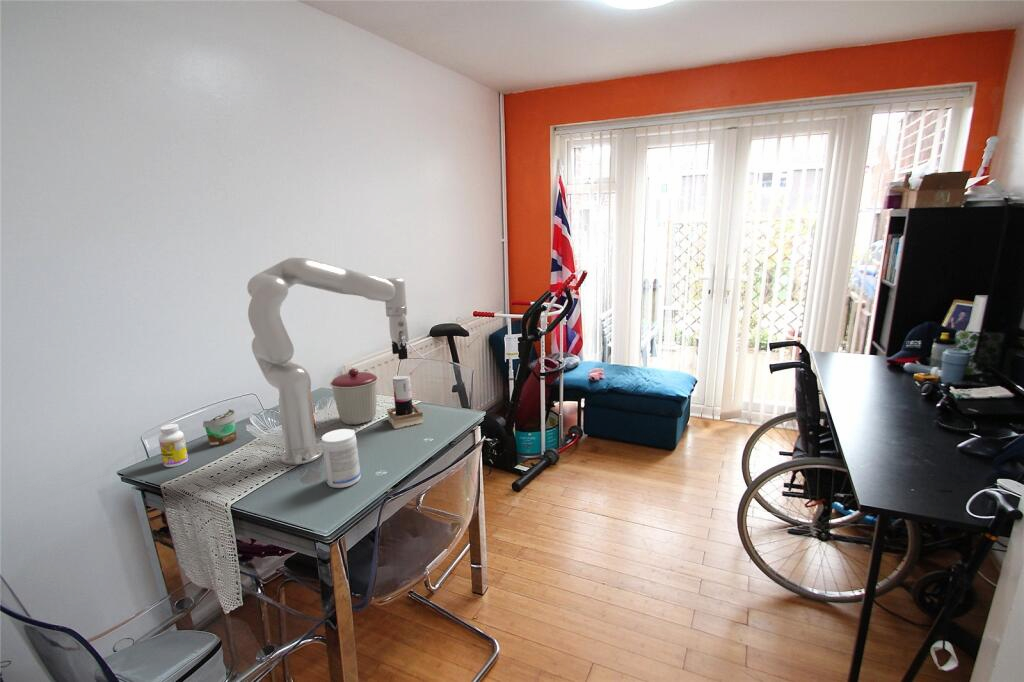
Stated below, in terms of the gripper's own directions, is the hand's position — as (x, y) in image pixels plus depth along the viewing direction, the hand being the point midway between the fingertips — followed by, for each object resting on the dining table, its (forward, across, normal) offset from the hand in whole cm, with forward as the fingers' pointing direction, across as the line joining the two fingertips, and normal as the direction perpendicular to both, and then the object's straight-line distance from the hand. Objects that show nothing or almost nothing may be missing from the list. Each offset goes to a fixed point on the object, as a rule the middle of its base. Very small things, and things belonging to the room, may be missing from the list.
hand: (400, 356), depth 179 cm
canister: (+26, +11, +16) cm, 33 cm away
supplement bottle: (+27, +3, +75) cm, 80 cm away
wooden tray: (+26, 0, 0) cm, 26 cm away
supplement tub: (+26, -37, +28) cm, 53 cm away
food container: (+27, +14, +61) cm, 68 cm away
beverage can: (+23, 0, 0) cm, 23 cm away
